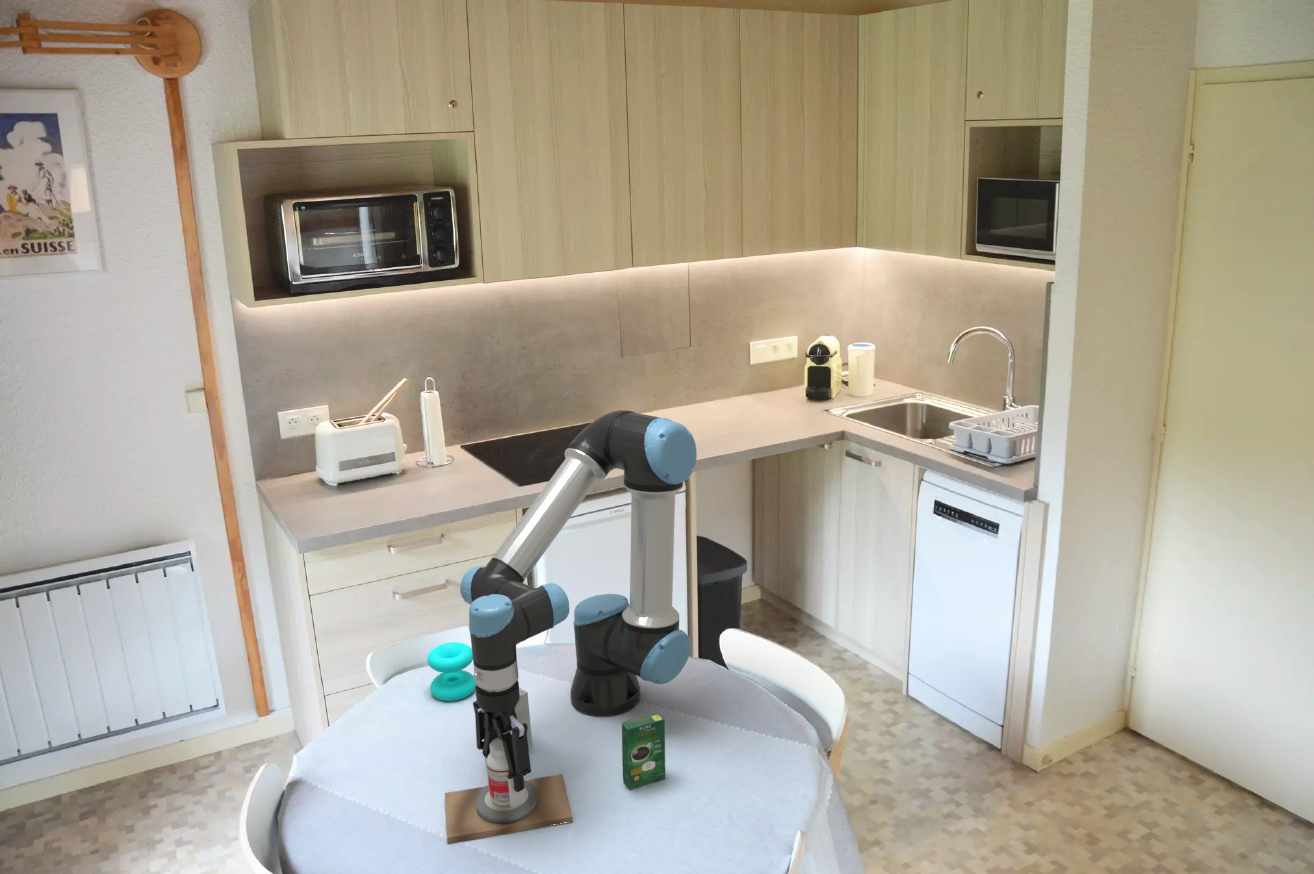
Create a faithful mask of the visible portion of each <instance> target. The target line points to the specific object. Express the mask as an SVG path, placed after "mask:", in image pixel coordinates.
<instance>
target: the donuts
mask: <svg viewBox="0 0 1314 874" xmlns="http://www.w3.org/2000/svg"><path fill="white" fill-rule="evenodd" d="M426 659H427V660H426V661H427V665H428V666H429V667H430V668H431V669H432V670H434V671H436V672H438V673H439V674H438V675H437V676H435V677H434V679H432V681H431V683H430V688H429V689H430V692H431V695H432V696H433V697H434V698H436V699H438V700H441V701H444V702H446V701H447V702H453V701H454V702H455V701H459V700H463V699H465V698H467V697H469V696H470V695H472V694H473V693H474V691H476V689H475V687H476V683H475V678H474V674H472V673H471V672H469V671H466V670H464V669H465V668H467V667H468V666H470V664H471V663H473V655H472V646H470V645H468V644H465V643H463V642H447V643H446V642H445V643H442V644H440V645H438V646H435V647H434V648H432V649H431V650H430V651H429V653H428V655H427V658H426Z"/></svg>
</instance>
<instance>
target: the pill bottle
mask: <svg viewBox="0 0 1314 874" xmlns="http://www.w3.org/2000/svg"><path fill="white" fill-rule="evenodd" d="M487 770H488V778H487V782H488V781H489V791H490V798H491V800H492V802H493V803H495V804H497V805H499V806H509V805H510V797H509V786H508V777H507V775H508V774H510V770H509V766H508V762H507V759H506V755H505V751H504V747H503V743H502V741H501V740H499V738H496V739H494V740H493V741H492V742H491V743H490V754H489V755H488V757H487V768H486V771H487Z"/></svg>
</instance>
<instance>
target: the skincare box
mask: <svg viewBox="0 0 1314 874" xmlns="http://www.w3.org/2000/svg"><path fill="white" fill-rule="evenodd" d="M519 693H520V699H519V701H518V703H517V705H516V707H515V712H516V715H517V721H518V722H519V723H520V724H523V723H526V724H527V726H528V731H527V740H528V747H529V746H531V745H532V744H533V740H532V738H533V737H532V728H531V727H532V726H531V716H530V715H531V713H530V704H529V703H530V702H529V694H528V691H526V690H525V689H523V688H522V687H519ZM510 731H511V730H510ZM508 732H509V731H508ZM506 733H507V732H506ZM503 734H505V733H503Z"/></svg>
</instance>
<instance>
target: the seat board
mask: <svg viewBox="0 0 1314 874" xmlns="http://www.w3.org/2000/svg"><path fill="white" fill-rule="evenodd" d="M564 779H565V778H564V774H563V773H559V774H554V775H548V776H542V777H535V778H530V779H524V794H525V802H523V803H521V804H519V805H518V806H516V807H514V808H512V807H511V806H510V805H509V806H499V805H497V804H495V803H493V802H492V800H491V798H490V791H489V789H488V784H486V785H485V786H479V787H475V788H473V787H472V788H467V789H461V790H455V791H449V792H445V793H444V808H445V827H446V841H447V844H453V843H458V842H464V841H470V840H476V839H483V838H489V837H493V836H499V835H506V834H512V833H517V832H522V831H523V832H524V831H529V830H535V829H541V827H542V828H547V827H546V826H548V827H551V826H550V825H553V824H560V823H564V822H571V823H573V822H574V821H573V820H574V818H573V813H572V809H571V804H570V800H569V797H568V792H567V787H566V783H565V780H564ZM560 825H561V824H560ZM482 837H483V838H482Z"/></svg>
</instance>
